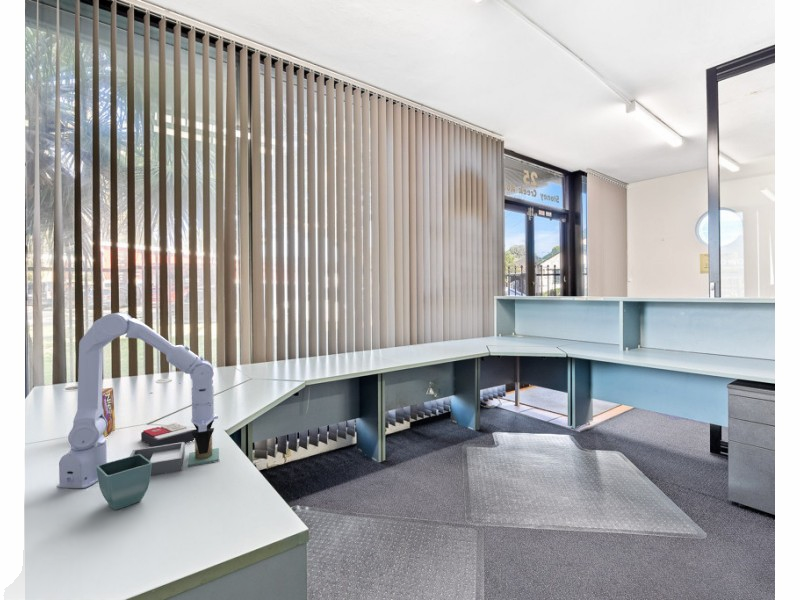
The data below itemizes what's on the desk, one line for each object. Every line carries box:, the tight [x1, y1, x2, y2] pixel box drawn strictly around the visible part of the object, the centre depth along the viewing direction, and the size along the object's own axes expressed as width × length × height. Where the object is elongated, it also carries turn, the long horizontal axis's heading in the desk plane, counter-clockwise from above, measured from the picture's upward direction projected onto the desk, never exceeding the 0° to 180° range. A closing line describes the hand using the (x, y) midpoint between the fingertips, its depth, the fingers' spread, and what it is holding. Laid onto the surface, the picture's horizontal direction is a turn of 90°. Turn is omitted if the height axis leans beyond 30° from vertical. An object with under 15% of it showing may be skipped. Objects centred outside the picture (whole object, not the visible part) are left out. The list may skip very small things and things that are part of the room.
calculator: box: [140, 422, 195, 447], centre depth 127 cm, size 11×4×15 cm
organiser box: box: [129, 442, 186, 478], centre depth 107 cm, size 13×13×4 cm
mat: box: [186, 447, 220, 468], centre depth 112 cm, size 8×9×1 cm
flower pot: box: [96, 454, 152, 511], centre depth 88 cm, size 9×9×9 cm
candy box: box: [102, 387, 116, 438], centre depth 133 cm, size 9×4×15 cm, turn 17°
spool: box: [194, 434, 213, 459], centre depth 112 cm, size 4×4×6 cm
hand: (203, 448), depth 112 cm, fingers open, 7 cm apart
